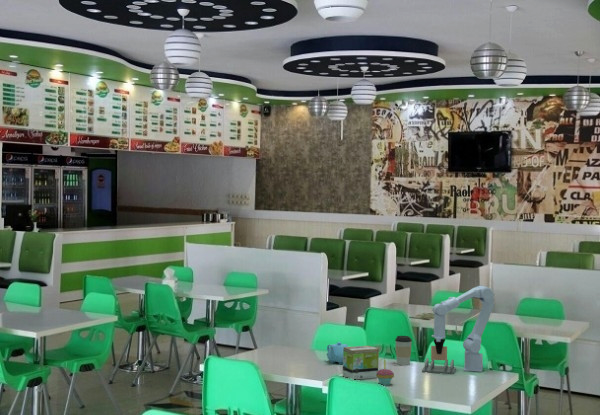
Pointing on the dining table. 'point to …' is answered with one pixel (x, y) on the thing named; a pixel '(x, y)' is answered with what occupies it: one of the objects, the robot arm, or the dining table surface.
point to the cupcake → (385, 375)
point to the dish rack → (439, 367)
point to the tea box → (360, 362)
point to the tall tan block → (439, 356)
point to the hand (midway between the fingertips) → (439, 353)
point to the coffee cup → (403, 350)
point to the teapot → (336, 352)
